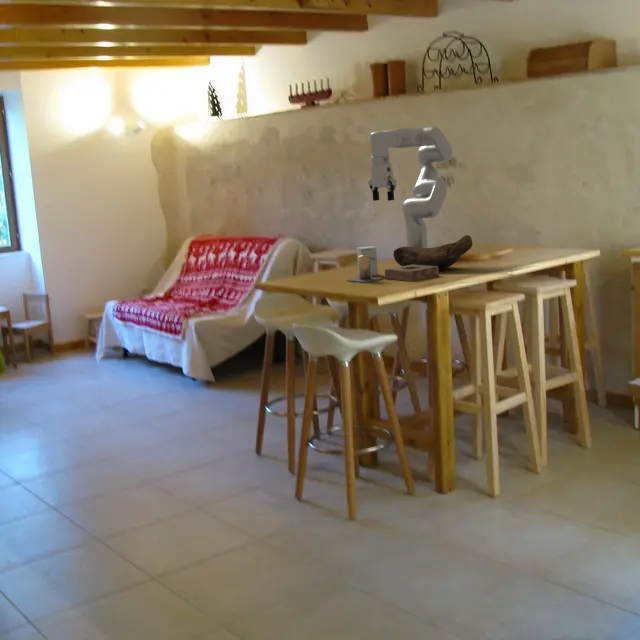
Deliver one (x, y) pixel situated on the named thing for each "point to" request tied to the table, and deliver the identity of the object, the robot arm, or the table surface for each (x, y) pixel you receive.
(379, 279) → the slate mat
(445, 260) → the driftwood
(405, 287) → the table surface
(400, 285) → the table surface
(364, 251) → the supplement box
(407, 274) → the bore block
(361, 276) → the tan mottled cylinder
